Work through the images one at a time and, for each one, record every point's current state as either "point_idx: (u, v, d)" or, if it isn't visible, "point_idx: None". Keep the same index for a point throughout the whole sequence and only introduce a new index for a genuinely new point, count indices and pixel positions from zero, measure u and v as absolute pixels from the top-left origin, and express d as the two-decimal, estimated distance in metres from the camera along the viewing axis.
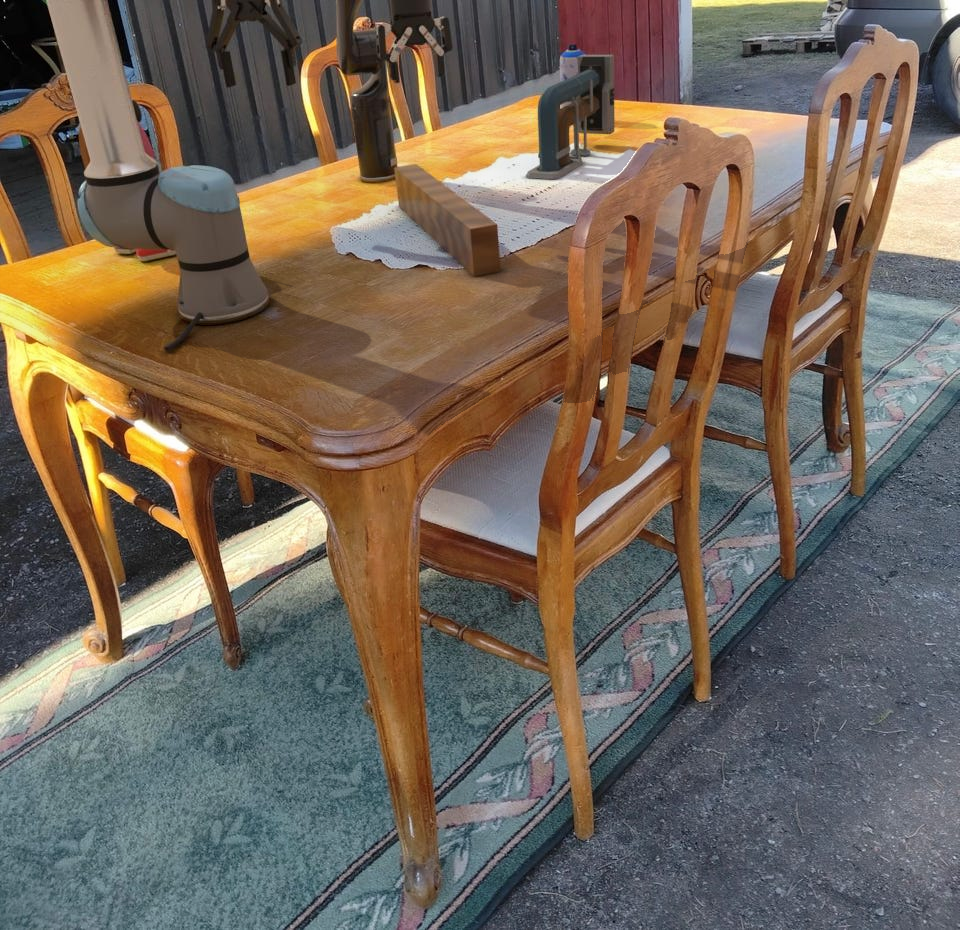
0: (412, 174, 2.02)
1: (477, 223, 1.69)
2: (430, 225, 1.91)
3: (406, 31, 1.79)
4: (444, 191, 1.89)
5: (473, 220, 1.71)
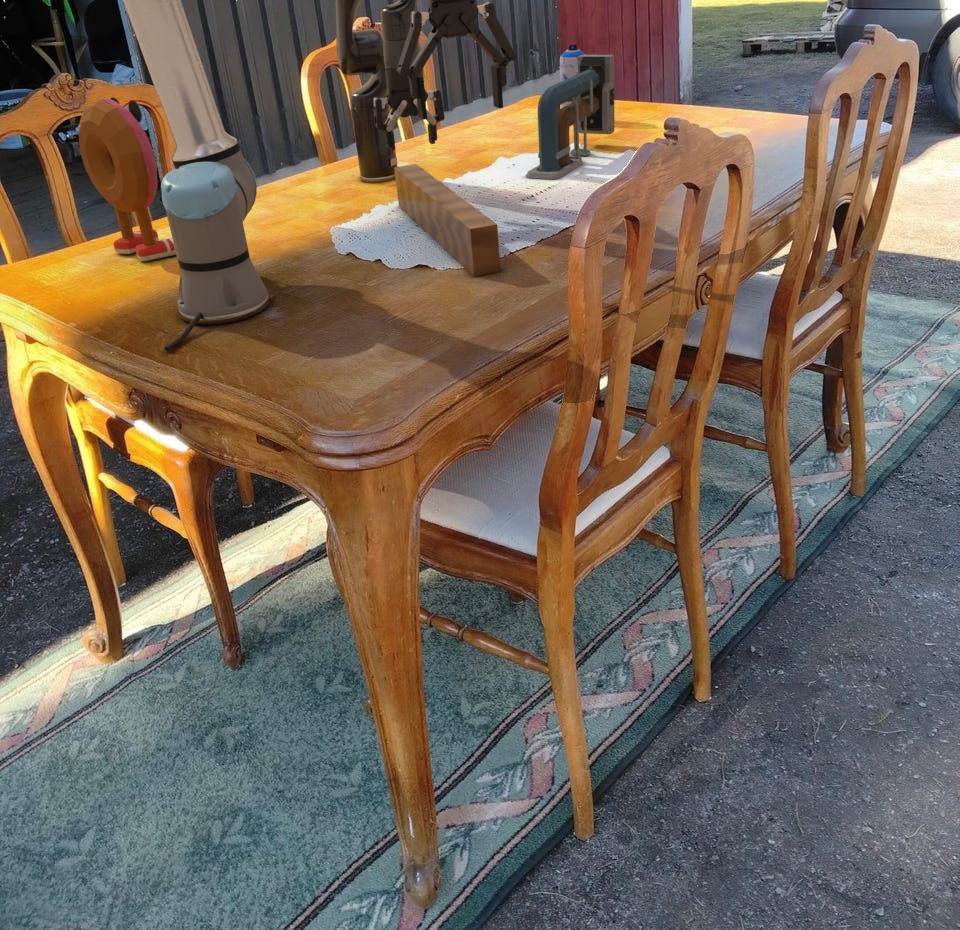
0: (412, 174, 2.02)
1: (477, 223, 1.69)
2: (430, 225, 1.91)
3: (401, 104, 1.94)
4: (444, 191, 1.89)
5: (473, 220, 1.71)
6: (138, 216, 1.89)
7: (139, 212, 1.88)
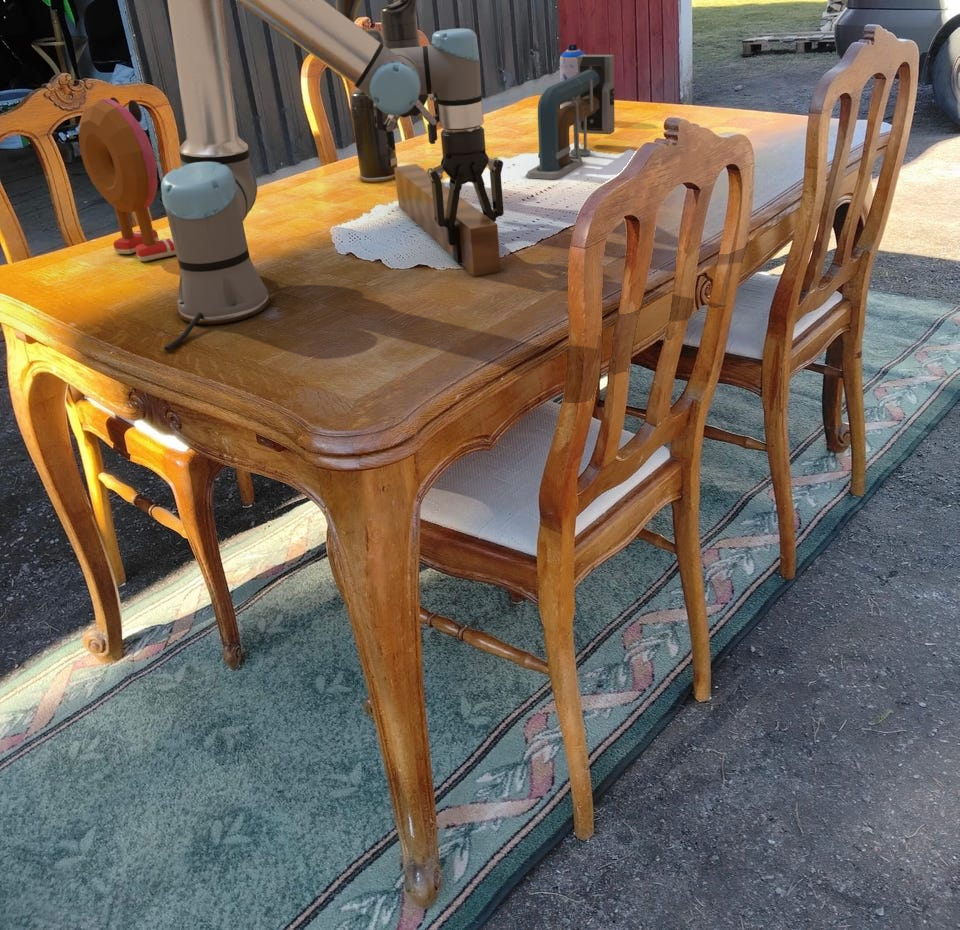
0: (412, 174, 2.02)
1: (477, 223, 1.69)
2: (430, 225, 1.91)
3: None
4: (444, 191, 1.89)
5: (473, 220, 1.71)
6: (138, 216, 1.89)
7: (139, 212, 1.88)
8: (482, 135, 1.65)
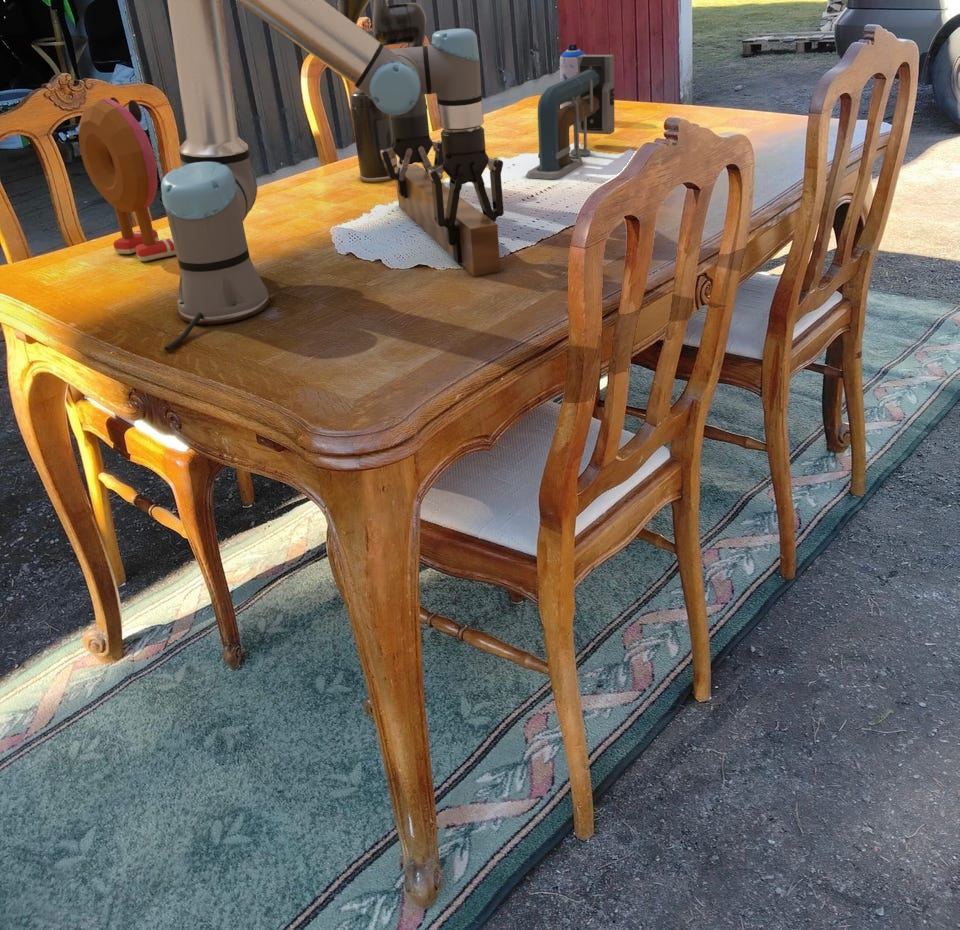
0: (412, 174, 2.02)
1: (477, 223, 1.69)
2: (430, 225, 1.91)
3: (407, 152, 1.98)
4: (444, 191, 1.89)
5: (473, 220, 1.71)
6: (138, 216, 1.89)
7: (139, 212, 1.88)
8: (482, 135, 1.65)
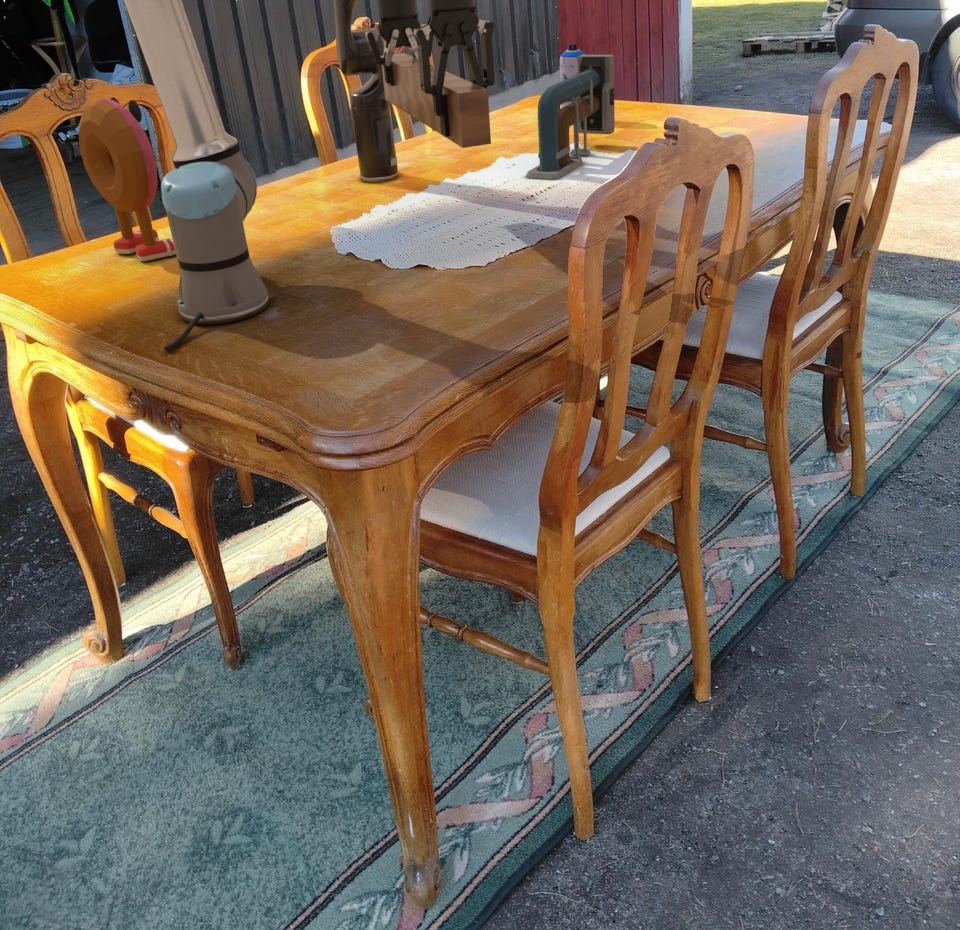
0: (399, 59, 1.91)
1: (466, 89, 1.58)
2: (417, 107, 1.80)
3: (393, 34, 1.87)
4: (432, 69, 1.77)
5: (462, 87, 1.59)
6: (138, 216, 1.89)
7: (139, 212, 1.88)
8: None
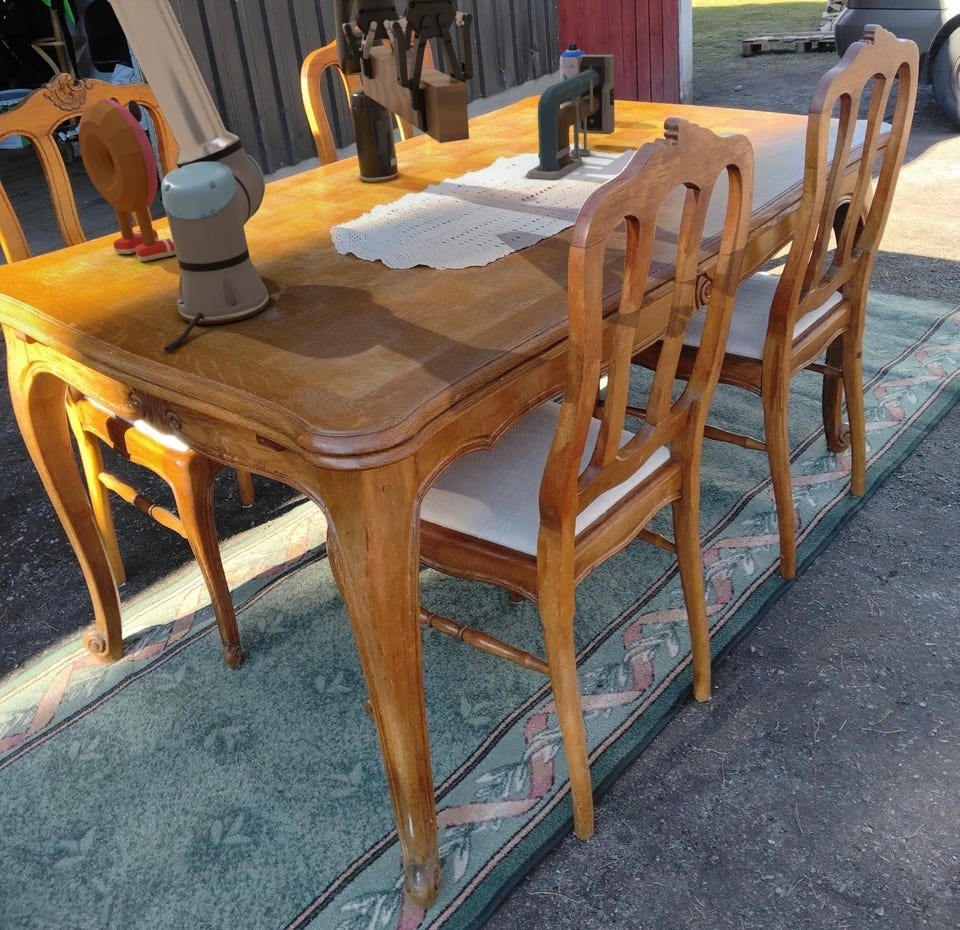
0: (377, 52, 1.87)
1: (444, 83, 1.54)
2: (395, 101, 1.76)
3: (371, 26, 1.83)
4: (410, 62, 1.73)
5: (440, 81, 1.55)
6: (138, 216, 1.89)
7: (139, 212, 1.88)
8: None
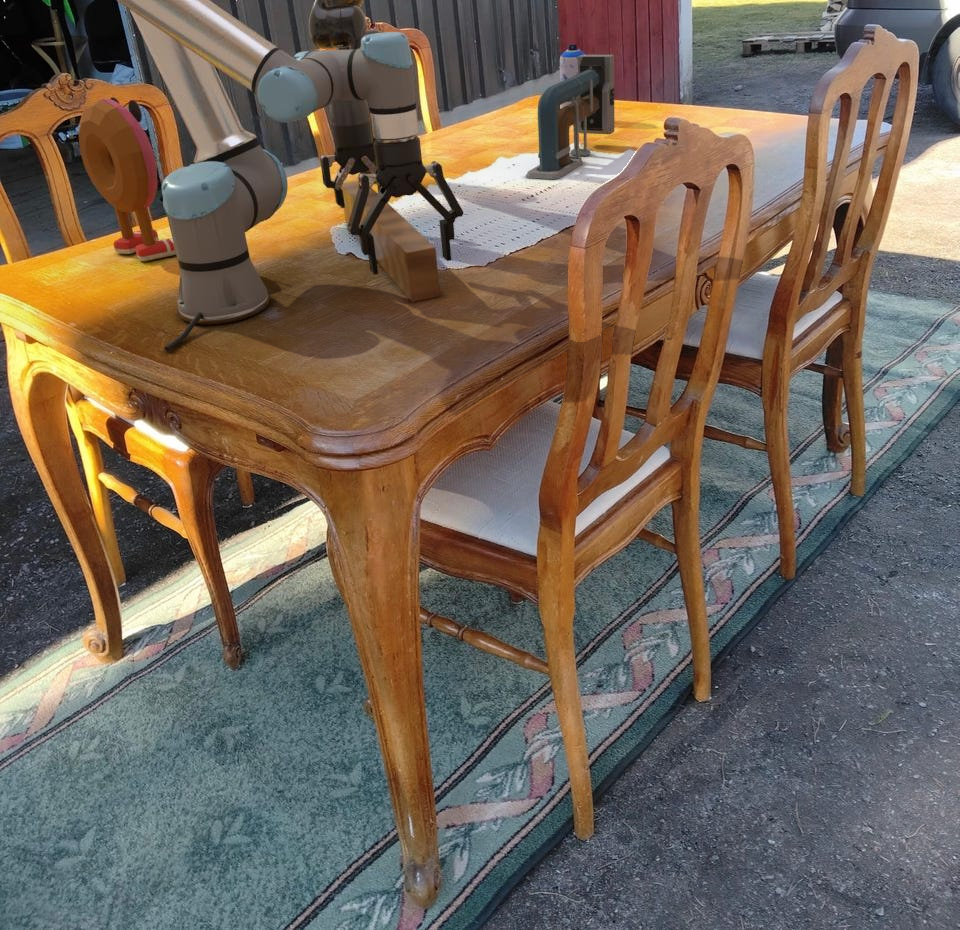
0: (357, 191, 1.94)
1: (414, 246, 1.60)
2: None
3: (349, 161, 1.88)
4: (386, 210, 1.80)
5: (411, 243, 1.62)
6: (138, 216, 1.89)
7: (139, 212, 1.88)
8: (417, 145, 1.55)
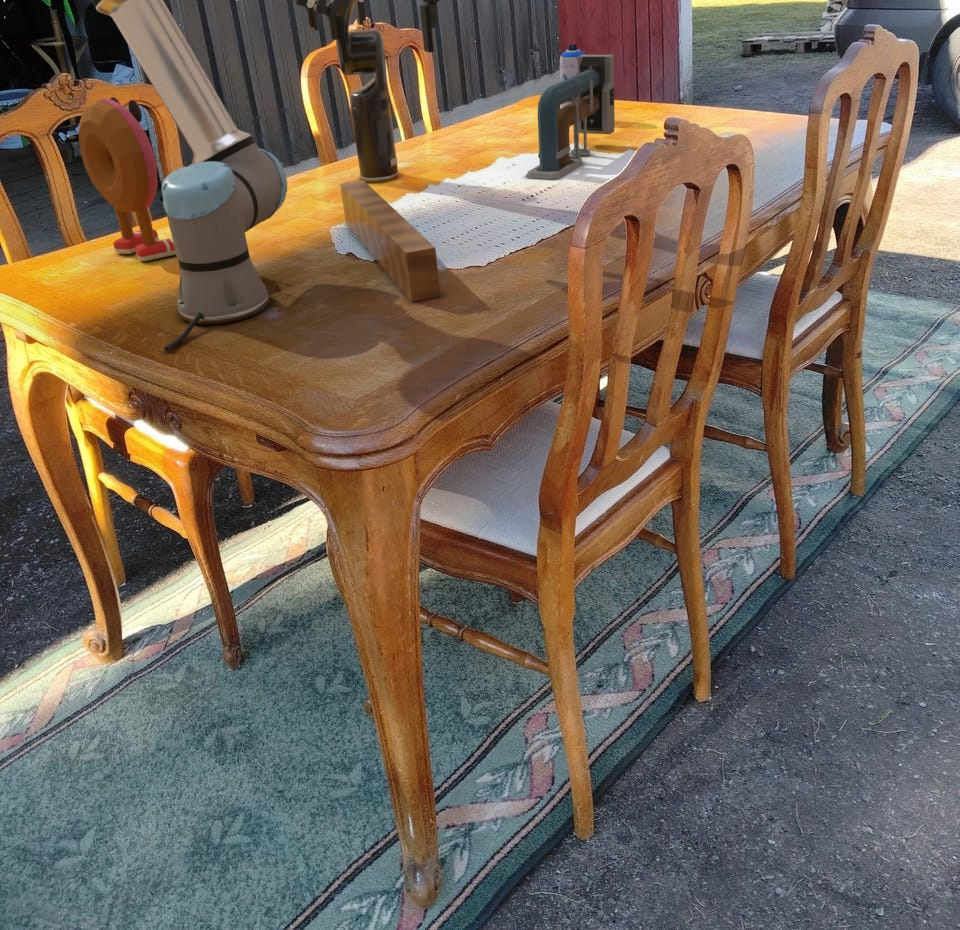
0: (357, 191, 1.94)
1: (414, 246, 1.60)
2: (372, 245, 1.83)
3: None
4: (386, 210, 1.80)
5: (411, 243, 1.62)
6: (138, 216, 1.89)
7: (139, 212, 1.88)
8: None
